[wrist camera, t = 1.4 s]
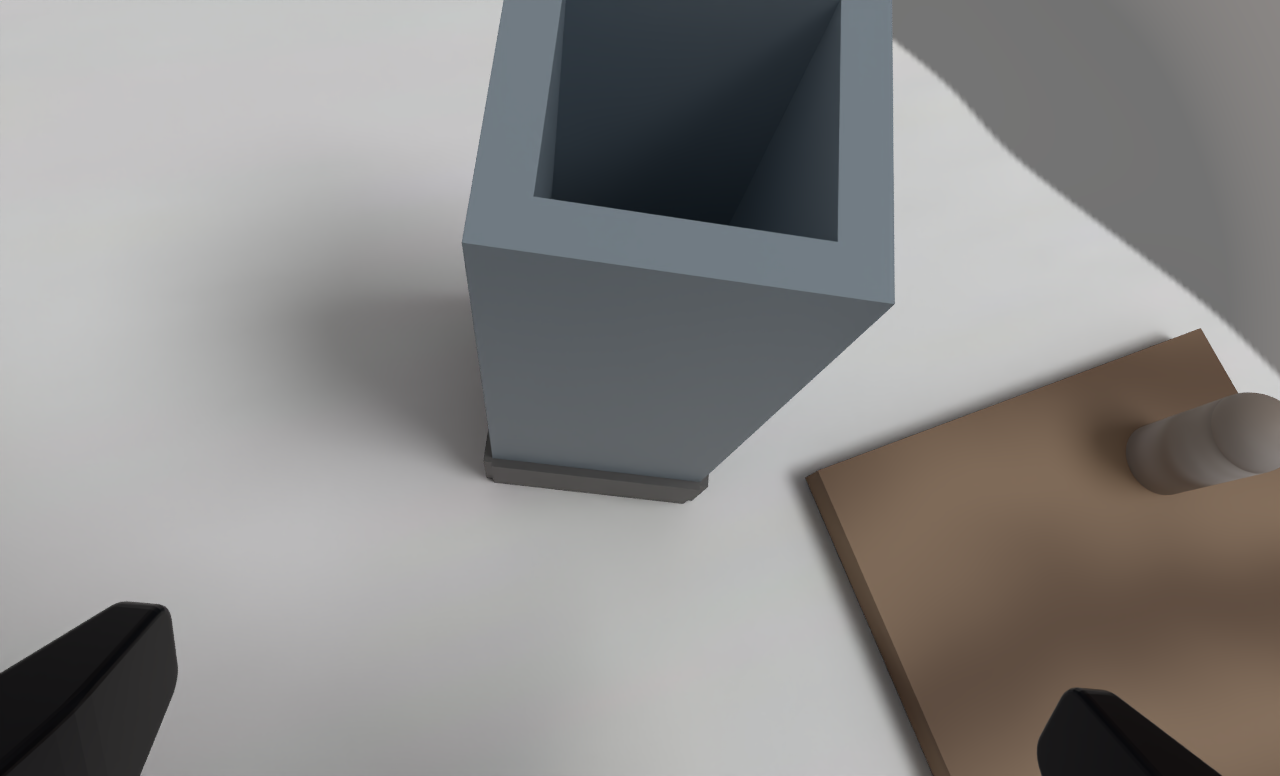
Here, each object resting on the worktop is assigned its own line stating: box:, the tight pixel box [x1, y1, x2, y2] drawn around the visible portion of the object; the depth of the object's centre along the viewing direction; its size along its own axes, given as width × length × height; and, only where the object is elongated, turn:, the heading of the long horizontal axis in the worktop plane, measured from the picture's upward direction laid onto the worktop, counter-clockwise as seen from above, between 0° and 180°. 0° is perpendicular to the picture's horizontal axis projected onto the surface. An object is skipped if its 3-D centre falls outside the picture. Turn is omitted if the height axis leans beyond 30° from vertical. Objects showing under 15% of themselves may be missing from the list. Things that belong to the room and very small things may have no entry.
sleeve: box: [462, 0, 895, 504], centre depth 16 cm, size 5×5×13 cm
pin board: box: [806, 328, 1280, 776], centre depth 20 cm, size 14×13×5 cm
